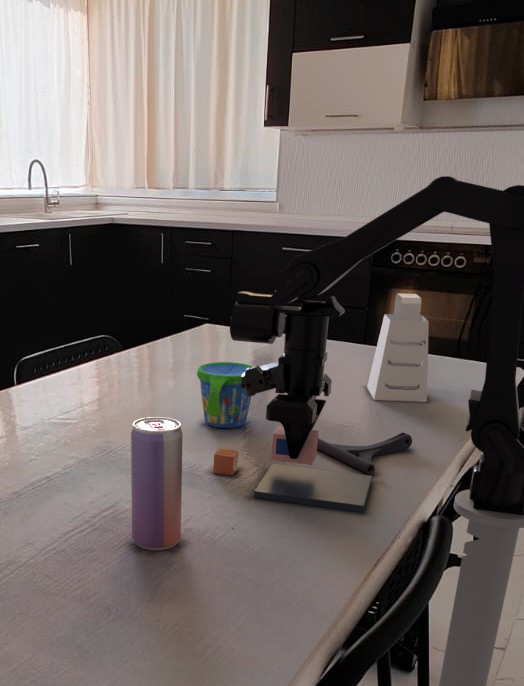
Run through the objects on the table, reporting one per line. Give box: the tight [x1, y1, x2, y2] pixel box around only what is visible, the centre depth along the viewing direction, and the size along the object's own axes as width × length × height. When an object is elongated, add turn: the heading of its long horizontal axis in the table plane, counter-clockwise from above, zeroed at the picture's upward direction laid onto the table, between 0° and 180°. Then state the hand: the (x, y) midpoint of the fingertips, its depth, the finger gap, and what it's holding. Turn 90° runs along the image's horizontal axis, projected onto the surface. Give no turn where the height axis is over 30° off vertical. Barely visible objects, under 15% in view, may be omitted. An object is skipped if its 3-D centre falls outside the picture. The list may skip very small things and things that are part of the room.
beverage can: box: [130, 416, 184, 552], centre depth 91 cm, size 6×6×15 cm
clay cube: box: [213, 448, 239, 476], centre depth 117 cm, size 3×3×3 cm
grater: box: [366, 293, 430, 403], centre depth 156 cm, size 10×10×20 cm
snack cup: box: [196, 361, 254, 429], centre depth 138 cm, size 16×10×10 cm
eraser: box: [270, 425, 320, 466], centre depth 112 cm, size 6×4×4 cm
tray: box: [253, 463, 373, 513], centre depth 110 cm, size 15×12×1 cm
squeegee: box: [317, 432, 413, 475], centre depth 125 cm, size 14×15×3 cm
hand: (296, 453), depth 113 cm, fingers closed on eraser, 4 cm apart
